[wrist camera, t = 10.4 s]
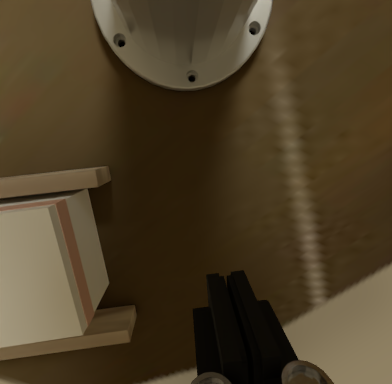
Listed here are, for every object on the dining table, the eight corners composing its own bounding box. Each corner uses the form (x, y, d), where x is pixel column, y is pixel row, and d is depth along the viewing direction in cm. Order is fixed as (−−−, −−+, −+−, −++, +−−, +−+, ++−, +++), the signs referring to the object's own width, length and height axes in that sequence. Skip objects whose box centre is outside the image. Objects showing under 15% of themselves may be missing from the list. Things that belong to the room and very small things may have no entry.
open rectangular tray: (-59, 184, 18) (-104, 192, 15) (108, 165, 19) (95, 170, 16) (-5, 334, 21) (-35, 365, 18) (136, 315, 22) (130, 342, 19)
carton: (-22, 201, 19) (-113, 227, 13) (88, 187, 19) (48, 206, 13) (10, 296, 21) (-56, 356, 15) (110, 282, 21) (83, 335, 15)
